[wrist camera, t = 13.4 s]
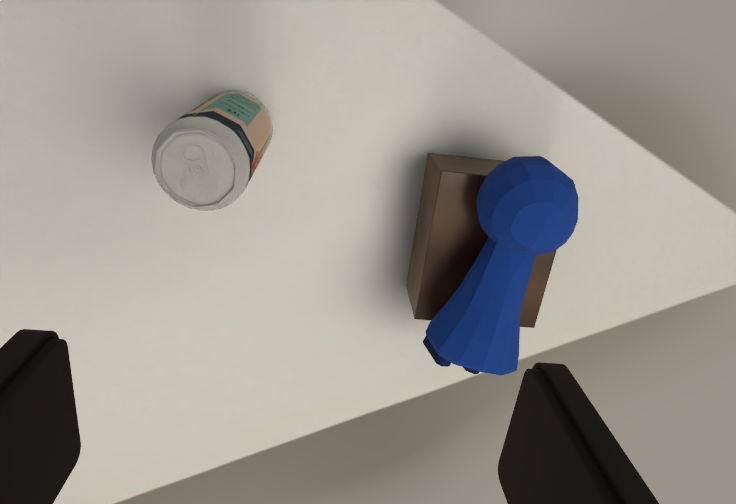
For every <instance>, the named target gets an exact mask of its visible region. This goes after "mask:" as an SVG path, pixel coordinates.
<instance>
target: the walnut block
mask: <svg viewBox="0 0 736 504" xmlns="http://www.w3.org/2000/svg"><path fill="white" fill-rule="evenodd" d="M503 162H505V161H500V160H491V159H482V158H472V157H463V156H453V155H444V154H435V153H429V154H428V158H427V164H426V170H425V176H424V182H423V188H422V194H421V200H420V206H419V212H418V218H417V224H416V230H415V236H414V242H413V248H412V254H411V260H410V266H409V272H408V278H407V284H406V288H407V292H408V296H409V299H410V303H411V307H412V310H413V314H414V318H415V319H423V320H432V319H433V318H434V317H435V316H436V314H437V313H438V312H439V311H440V310H441V309H442V308H443V306H444V305H445V304H446V303H447V302H448V300H449V299H450V298H451V296H452V295H453V294H454V293H455V291H456V290H457V289H458V287H459V286H460V285H461V283H462V281H463V280H464V278H465V277H466V275H467V273H468V272H469V270H470V269H471V267H472V265H473V264H474V262H475V261H476V259H477V257H478V255H479V254H480V252H481V250H482V248H483V247H484V245H485V243H486V241H487V239H488V238H489V237H488V235H487V234H486V233H485V231H484V230H483V229H482V227H481V225H480V222H479V219H478V212H477V206H476V200H477V196H478V192H479V188H480V186H481V184H482V183H483V181H484V179H485V178H486V176H487V175H488V174H489V173H490V172H491V171H492V170H493V169H494V168H495V167H497V166H498V165H499V164H501V163H503ZM574 185H575V184H574ZM556 250H557V249H556ZM556 250H555V251H553V252H549V253H545V254H541V255H536V257H535V260H534V264H533V267H532V271H531V275H530V278H529V282H528V285H527V289H526V292H525V296H524V299H523V303H522V306H521V310H520V327H532V328H534V326H535V323H536V319H537V316H538V312H539V309H540V305H541V302H542V298H543V295H544V291H545V288H546V284H547V281H548V277H549V274H550V270H551V267H552V263H553V260H554V257H555V253H556Z"/></svg>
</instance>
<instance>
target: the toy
mask: <svg viewBox="0 0 736 504" xmlns="http://www.w3.org/2000/svg"><path fill="white" fill-rule="evenodd" d="M476 206H477V212H478V219H479V222H480V225H481V227H482V229H483V230H484V231H485V233H486V234H487V235H488V237H489V238H488V239H487V241H486V243H485V245H484V247H483V248H482V250H481V252H480V254H479V255H478V257H477V259H476V261H475V262H474V264H473V265H472V267H471V269H470V270H469V272H468V273H467V275H466V277H465V278H464V280H463V281H462V283H461V285H460V286H459V287H458V289H457V290H456V291H455V293H454V294H453V295H452V296H451V298H450V299H449V300H448V302H447V303H446V304H445V305H444V306H443V308H442V309H441V310H440V311H439V312H438V313H437V314H436V316H435V317H434V318H433V319H432V320H431V322H430V324H429V326H428V328H427V330H426V335H427V336H426V337H425V339H424V341H423V343H424V345H425V346H426V348H427V349H428V351H429V353H430V354H431V356H432V357H433V359H434V360H435V362H436V363H437V364H439V365H440V366H450V364H451V363H453V364H456V365H459V366H462V367H463V368H464V369H465V370H466V371H468V372H471V373H473V374H478V373H479V371H480V372H485V373H491V374H496V375H504V374H508V373H511V372H514V371H516V370H517V364H518V356H519V330H520V310H521V306H522V303H523V299H524V296H525V292H526V289H527V285H528V282H529V278H530V275H531V271H532V267H533V264H534V260H535V257H536V255H541V254H545V253H549V252H553V251H555V250H556V249H558V248H559V247H560V246H562V245H563V244H564V243H566V241H567V240H568V239H569V237H570V236H571V234H572V233H573V231H574V229H575V226H576V223H577V220H578V195H577V192H576V188H575V185H574V182H573V180H572V179H570V178H569V177H568V176H567V175H566V174H564V173H563V172H562V171H561V170H559V169H558V168H557V167H555V166H554V165H553V164H552V163H550V162H549V161H548V160H547V159H545V158H543V157H540V156H534V157H513V158H511V159H509V160H507V161H505V162H503V163H501V164H499V165H498V166H497V167H495V168H494V169H493V170H492V171H491V172H490V173H489V174H488V175H487V176H486V178H485V179H484V181H483V183H482V184H481V186H480V188H479V192H478V196H477V200H476Z"/></svg>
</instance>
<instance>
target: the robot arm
mask: <svg viewBox="0 0 736 504" xmlns="http://www.w3.org/2000/svg"><path fill="white" fill-rule="evenodd" d="M80 448H81V443H80V435H79V428H78V420H77V413H76V405H75V398H74V390H73V383H72V375H71V368H70V361H69V353H68V346H67V343H66V341H65V340H63V339H59V337H58V335H57V333H56V332H54V331H42V330H27V329H23V330H20V331H18V332H17V333H16V334H15V335H14V336H13V337H12V338H11V339H10V340H9V341H7V342H6V343H5V344H4V345H3V346H2V347H1V348H0V504H53V502H54V501H55V499H56V497H57V495H58V494H59V492H60V490H61V489H62V487H63V485H64V484H65V482H66V480H67V478H68V477H69V475H70V473H71V472H72V470H73V468H74V466H75V465H76V463H77V461H78V458H79V454H80ZM498 475H499V480H500V483H501V486H502V489H503V492H504V494H505V497H506V500H507V503H508V504H659V503H658V501H657V500H656V499H655V497H654V496H653V494H652V492H651V491H650V490H649V488H648V487H647V485H646V484H645V482H644V481H643V479H642V478H641V476H640V475H639V473H638V472H637V470H636V469H635V467H634V466H633V464H632V463H631V461H630V460H629V458H628V457H627V455H626V454H625V453H624V451H623V449H622V448H621V446H620V445H619V444H618V442H617V441H616V439H615V438H614V436H613V435H612V433H611V432H610V430H609V429H608V427H607V426H606V424H605V423H604V421H603V420H602V418H601V417H600V416H599V414H598V412H597V411H596V410H595V408H594V406H593V405H592V404H591V402H590V401H589V399H588V398H587V396H586V395H585V393H584V392H583V390H582V389H581V387H580V386H579V384H578V383H577V381H576V380H575V378H574V377H573V375H572V374H571V372H570V371H569V370H568V368H567V367H566V366H565V365H563V364H553V363H536V364H535V365H534V366H533V368H532V369H527V370H526V371H525V373H524V377H523V380H522V384H521V387H520V390H519V394H518V397H517V401H516V404H515V408H514V411H513V414H512V418H511V421H510V425H509V429H508V432H507V435H506V439H505V442H504V446H503V449H502V453H501V456H500V460H499V464H498Z"/></svg>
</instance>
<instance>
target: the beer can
mask: <svg viewBox="0 0 736 504" xmlns="http://www.w3.org/2000/svg"><path fill="white" fill-rule="evenodd" d="M271 137H272V121H271V117H270V115H269V113H268V111H267V109H266V108H265V106H264V105H263V104H262V103H261V102H260V101H259V100H258V99H257V98H255V97H254V96H252V95H250V94H248V93H245V92H242V91H227V92H222V93H219V94H217V95H216V96H214V97H213V98H211V99H209V100H208V101H206V102H204V103H203V104H201V105H199V106H198V107H196V108H195V109H193V110H191V111H190V112H188V113H186V114H185V115H183V116H182V117H180V118H178V119H177V120H175V121H174V122H172V123H171V124H169V125H168V126H166V127H165V128H164V129H163V131H162V132H161V133H160V134H159V135H158V137H157V139H156V141H155V143H154V146H153V150H152V165H153V171H154V174H155V176H156V178H157V181H158V183H159V184H160V186H161V187H162V188H163V190H164V191H165V192H166V193H167V194H168V196H169V197H170V198H172V199H173V200H175V201H176V202H178V203H180V204H182V205H184V206H186V207H189V208H192V209H195V210H202V211H208V210H215V209H220V208H223V207H225V206H227V205H229V204H231V203H233V202H234V201H235V200H236V199H237V198H238V197H239V196H240V195H241V194H242V193H243V191H244V189H245V188H246V186H247V184H248V182H249V180H250V179H251V177H252V175H253V173H254V171H255V169H256V167H257V166H258V164H259V162H260V160H261V158H262V156H263V154H264V153H265V151H266V149H267V147H268V145H269V143H270V140H271Z"/></svg>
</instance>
